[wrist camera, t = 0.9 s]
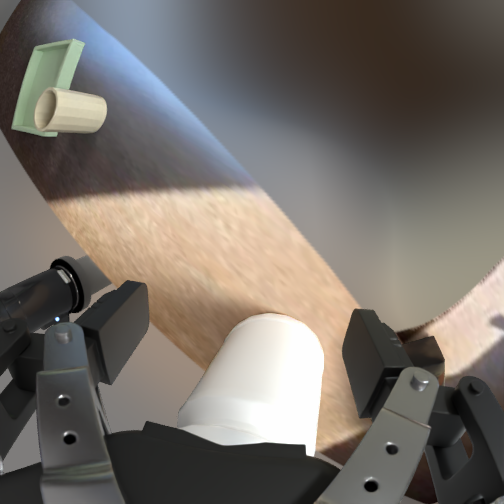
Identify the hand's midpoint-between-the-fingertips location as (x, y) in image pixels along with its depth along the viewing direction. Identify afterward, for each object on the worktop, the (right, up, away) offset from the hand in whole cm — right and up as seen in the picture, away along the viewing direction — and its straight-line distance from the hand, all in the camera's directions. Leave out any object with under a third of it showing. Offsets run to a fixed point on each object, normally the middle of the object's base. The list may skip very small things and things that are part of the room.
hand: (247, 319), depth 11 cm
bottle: (+3, -12, +28) cm, 31 cm away
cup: (-24, +24, +25) cm, 42 cm away
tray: (-38, +33, +26) cm, 57 cm away
